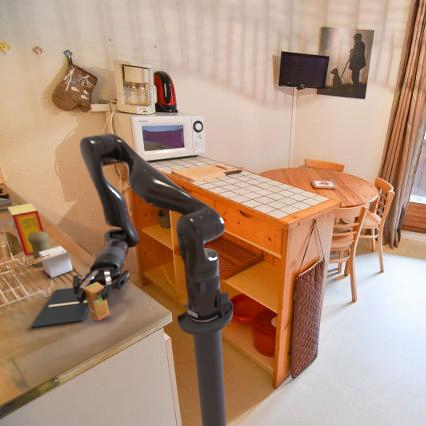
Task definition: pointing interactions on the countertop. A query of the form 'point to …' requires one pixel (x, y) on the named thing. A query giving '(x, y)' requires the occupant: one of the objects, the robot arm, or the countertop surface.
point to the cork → (39, 244)
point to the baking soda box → (25, 224)
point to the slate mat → (62, 309)
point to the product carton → (56, 261)
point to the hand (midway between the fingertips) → (91, 298)
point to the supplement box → (96, 301)
